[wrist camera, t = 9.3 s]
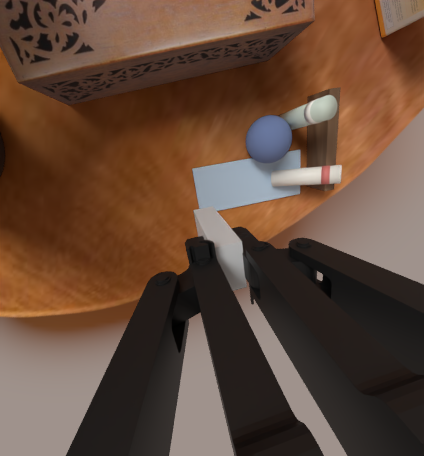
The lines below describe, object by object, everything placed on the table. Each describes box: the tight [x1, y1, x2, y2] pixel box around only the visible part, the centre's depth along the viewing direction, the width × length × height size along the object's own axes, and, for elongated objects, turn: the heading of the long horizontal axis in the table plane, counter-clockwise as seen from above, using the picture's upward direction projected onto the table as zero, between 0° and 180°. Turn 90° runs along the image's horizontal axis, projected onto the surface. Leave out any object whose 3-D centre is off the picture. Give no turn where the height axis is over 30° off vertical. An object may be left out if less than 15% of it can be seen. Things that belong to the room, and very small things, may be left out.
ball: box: [246, 115, 292, 164], centre depth 29 cm, size 6×6×6 cm
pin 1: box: [279, 95, 337, 130], centre depth 27 cm, size 2×2×9 cm
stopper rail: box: [306, 88, 340, 191], centre depth 31 cm, size 2×13×4 cm, turn 9°
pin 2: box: [271, 165, 341, 187], centre depth 31 cm, size 2×2×9 cm
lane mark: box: [192, 149, 300, 211], centre depth 33 cm, size 17×7×1 cm, turn 99°
